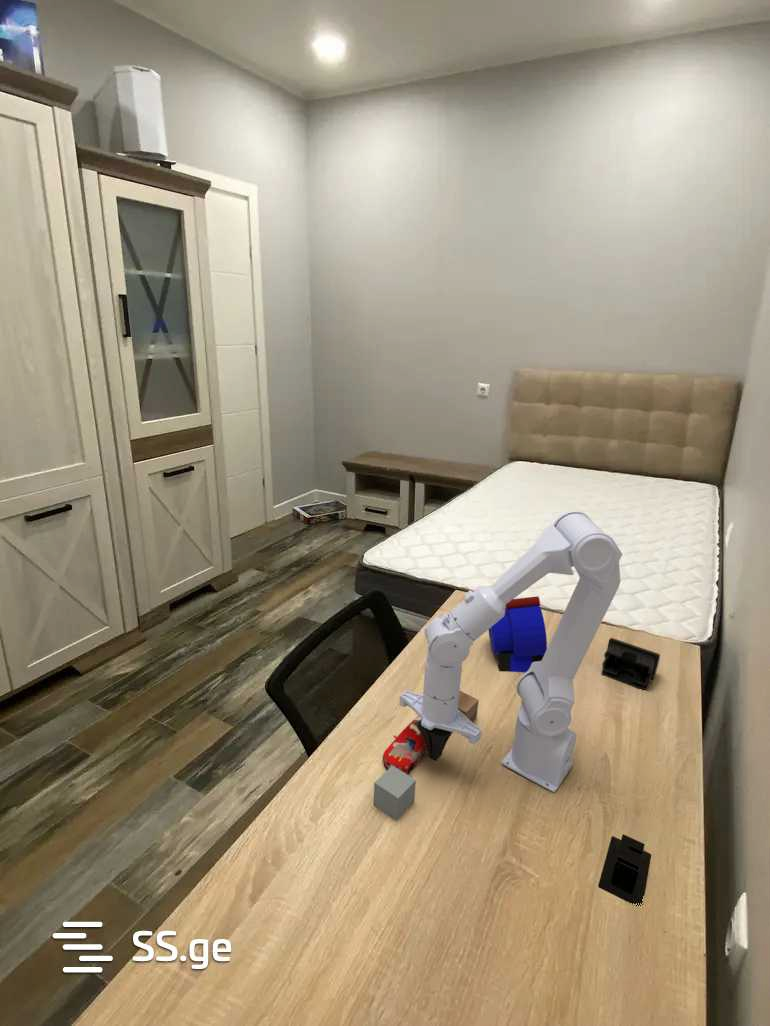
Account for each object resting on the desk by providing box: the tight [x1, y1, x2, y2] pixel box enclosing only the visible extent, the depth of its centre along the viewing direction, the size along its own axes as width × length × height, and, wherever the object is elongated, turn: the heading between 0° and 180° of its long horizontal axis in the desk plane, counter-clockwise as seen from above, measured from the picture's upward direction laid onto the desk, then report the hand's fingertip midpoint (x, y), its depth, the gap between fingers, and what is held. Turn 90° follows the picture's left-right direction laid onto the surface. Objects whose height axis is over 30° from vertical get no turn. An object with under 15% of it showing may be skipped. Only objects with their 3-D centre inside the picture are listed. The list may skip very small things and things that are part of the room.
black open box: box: [597, 833, 652, 907], centre depth 78 cm, size 12×7×5 cm, turn 149°
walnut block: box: [458, 690, 480, 724], centre depth 105 cm, size 4×4×4 cm
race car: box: [382, 715, 428, 775], centre depth 97 cm, size 13×5×4 cm, turn 144°
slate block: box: [372, 765, 417, 822], centre depth 86 cm, size 4×4×4 cm
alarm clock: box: [487, 596, 548, 673], centre depth 123 cm, size 12×12×15 cm
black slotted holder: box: [601, 637, 661, 692], centre depth 120 cm, size 10×7×7 cm
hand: (435, 756), depth 95 cm, fingers closed
